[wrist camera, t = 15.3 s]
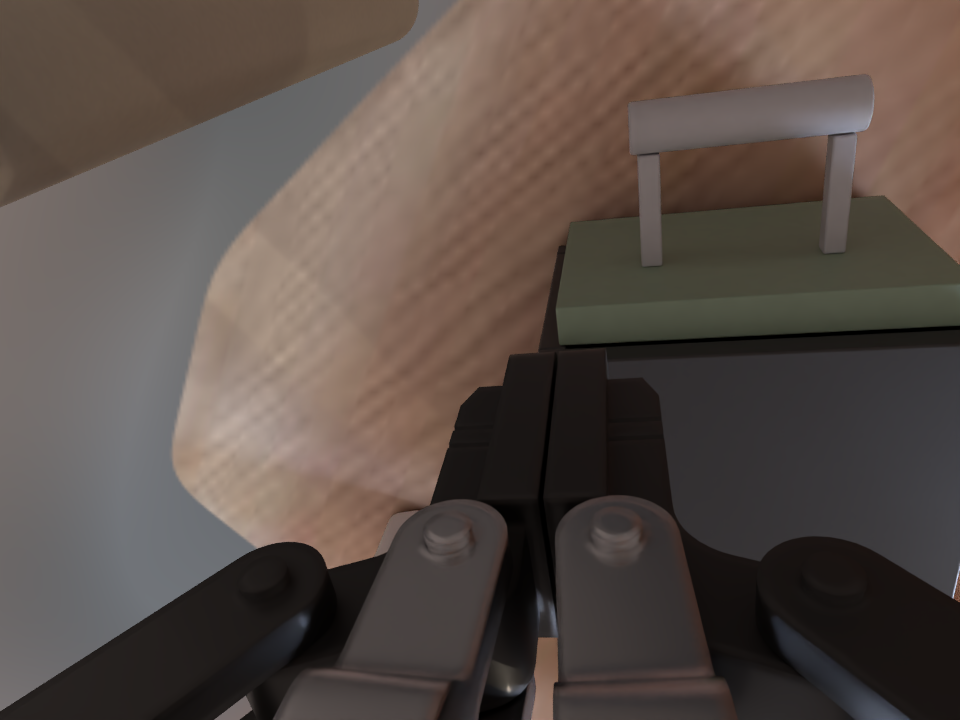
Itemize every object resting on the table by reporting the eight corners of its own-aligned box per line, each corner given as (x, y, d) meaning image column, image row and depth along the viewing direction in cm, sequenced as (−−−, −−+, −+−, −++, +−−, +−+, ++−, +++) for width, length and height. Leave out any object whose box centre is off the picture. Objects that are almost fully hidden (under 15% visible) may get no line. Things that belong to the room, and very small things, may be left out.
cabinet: (558, 245, 28) (535, 362, 20) (891, 219, 25) (1015, 341, 17) (584, 518, 34) (575, 688, 26) (851, 518, 31) (928, 706, 24)
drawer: (558, 85, 24) (537, 134, 18) (903, 41, 22) (1020, 79, 15) (593, 492, 32) (588, 624, 26) (847, 490, 30) (909, 635, 23)
